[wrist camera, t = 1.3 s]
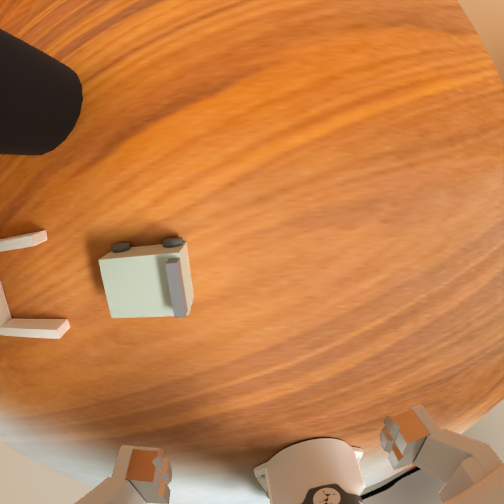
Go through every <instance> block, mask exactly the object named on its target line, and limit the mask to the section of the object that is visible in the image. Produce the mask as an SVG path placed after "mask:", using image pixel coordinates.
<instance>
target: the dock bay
mask: <svg viewBox="0 0 504 504" xmlns="http://www.w3.org/2000/svg"><path fill="white" fill-rule="evenodd" d="M45 241H47V234H46V230H44V231H38V232H33V233H28V234H23V235H18V236H13V237H8V238H4V239H0V252H2V251H8V250H14V249H20V248H26V247H32V246H35V245H38V244H40V243H42V242H45ZM69 328H70V325H69V322H68V319H15V318H12V317H11V314H10V311H9V308H8V305H7V301H6V298H5V295H4V291H3V288H2V284H1V281H0V335H5V336H17V337H32V338H51V339H60V338H61V337H62V336H63V335H64V334H65V333H66V332H67V330H68V329H69Z"/></svg>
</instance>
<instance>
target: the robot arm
mask: <svg viewBox="0 0 504 504" xmlns="http://www.w3.org/2000/svg"><path fill="white" fill-rule="evenodd" d="M384 424H385V426H384V427H383V428H382V429H381V432H380V443H381V446H382V448H383V450H384V451H386V452H389V456H388V459H389V461H390V463H391V465H392V467H393V469H394V470H396V469H398V468H401V467H404V466H406V465H409V464H412V463H413V464H414V465H416V466H417V467H419V468H421V469H422V470H424V471H426V472H428V473H429V474H431V475H433V476H435V477H436V478H438V479H440V480H442V481H444V482H445V483H446V484H445V485H444V486H443V487H442V489H441V490H440V491H439V493H438V494H439V497H440V498H441V500H442V502H443V503H442V504H504V464H503V463H502V461H501V460H500V459H499V457H498V456H497V455H496V454H495V452H494V451H493V450H492V448H491V447H490V446H489V445H488V444H485V443H482V442H480V441H476V440H474V439H471V438H468V437H466V436H463V435H460V434H457V433H455V432H452V431H449V430H447V429H442V430H441V429H440V427H439V426H438V425H437V423H436V422H435V421H434V419H433V418H432V417H431V415H430V414H429V413H428V412H427V410H426V409H425V408H424V406H423V405H421V404H419V405H416V406H414V407H411V408H408V409H405V410H402V411H399V412H397V413H394V414H391V415H388V416H386V417H385V419H384ZM164 455H165V452H164V451H163V449H162V448H154V447H140V446H129V445H122V446H121V447H120V449H119V453H118V456H117V460H116V463H115V467H114V470H113V474H112V478H109V477H108V478H107V479H105V480H104V481H103V482H102V483H100V484H99V485H98V486H97V487H95V488H94V489H93V490H92V491H90V492H89V493H88V494H86V495H85V496H84V497H83V498H81V499H80V500H79V501H77V502H76V503H75V504H147V503H160V504H169V497H170V489H169V487H168V486H167V485H168V484H169V483H170V482H171V478H172V471H171V465H170V462H169V460H168V459H167V458H165V457H164ZM362 455H363V451H362V449H361V448H358V447H351V446H349V445H348V444H347V443H346V442H344V441H341V440H338V439H331V438H322V439H313V440H308V441H304V442H301V443H297V444H295V445H292V446H290V447H287V448H285V449H283V450H282V451H280V452H279V453H277V454H276V455H275V456H273V457H272V458H271V459H270V460H269V461H268V462H266V463H264V464H261V465H259V466H257V467H255V468H254V470H253V471H254V475H255V476H256V478H257V479H258V481H259V482H260V484H261V486H262V487H263V489H264V490H265V492H266V493H267V495H268V496H269V498H270V504H364V503H363V502H362V499H361V497H360V493H362V491H363V489H364V488H365V482H364V478H363V475H362V472H361V469H360V466H359V463H358V462H359V460H360V459H361V457H362ZM146 502H147V503H146Z"/></svg>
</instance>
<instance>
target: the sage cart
mask: <svg viewBox="0 0 504 504" xmlns="http://www.w3.org/2000/svg"><path fill="white" fill-rule="evenodd" d="M162 242H163V244H158V245H148V246H137V247H130V243H129V242H122V243H117V244H114V245H112V246H111V248H112V251H111V252H109V253H108V254H106V255H105V256H103V257H102V258H100V259H99V260H98V261H99V266H100V271H101V276H102V280H103V285H104V289H105V293H106V298H107V302H108V306H109V310H110V314H111V317H112V318H135V317H160V316H174V317H175V318H184V317H186V315H189V312H190V309H191V307H192V302H193V299H194V293H193V286H192V279H191V272H190V265H189V257H188V250H187V242H183V239H182V237H171V238H166V239H164V240H162Z"/></svg>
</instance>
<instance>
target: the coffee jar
mask: <svg viewBox="0 0 504 504" xmlns="http://www.w3.org/2000/svg"><path fill="white" fill-rule="evenodd" d="M82 100H83V97H82V85H81V83H80V80H79V78H78V76H77V74H76V73H75V72H74V71H73V70H72V69H70V68H69V67H68V66H66V65H64V64H63V63H61V62H59V61H58V60H56V59H54V58H52V57H51V56H49V55H47V54H45V53H44V52H42V51H40V50H38V49H37V48H35V47H33V46H31V45H29V44H28V43H26V42H24V41H22V40H20V39H18V38H17V37H15V36H13V35H11V34H9V33H7V32H5V31H3V30H1V29H0V154H15V155H43V154H45V153H47V152H49V151H52V150H54V149H55V148H56V147H57V146H58V145H59V144H61V143H62V142H63V141H64V140H65V139H66V138H67V136H68V135H69V133H70V132H71V131H72V129H73V128H74V126H75V124H76V122H77V119H78V117H79V115H80V110H81V105H82Z"/></svg>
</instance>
